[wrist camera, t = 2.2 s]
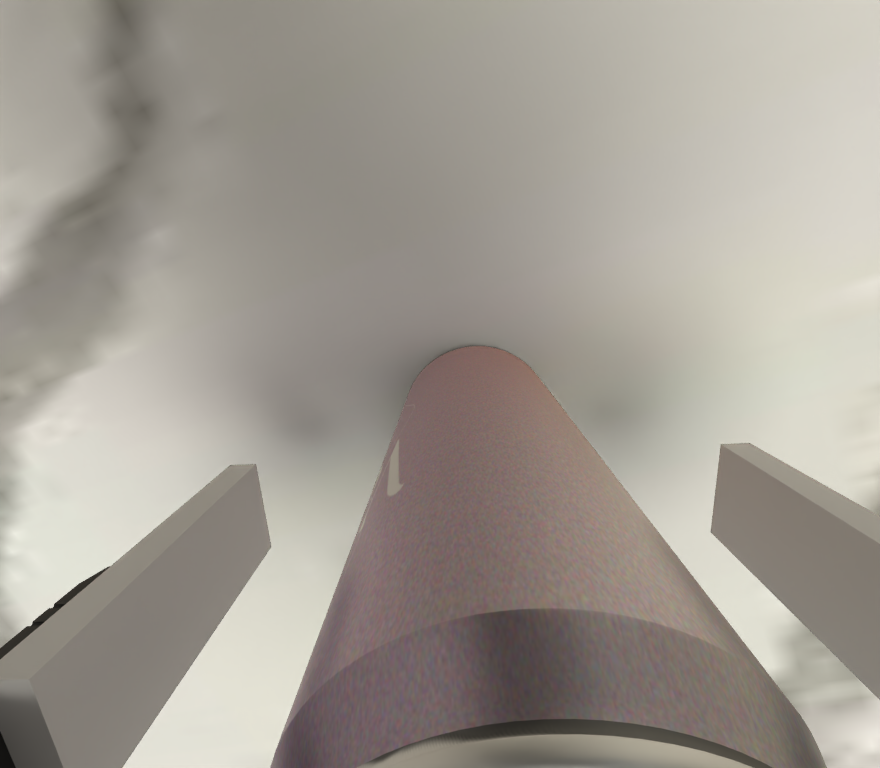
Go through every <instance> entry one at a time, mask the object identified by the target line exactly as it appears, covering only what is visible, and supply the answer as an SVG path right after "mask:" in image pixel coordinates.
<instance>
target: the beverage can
mask: <svg viewBox="0 0 880 768" xmlns="http://www.w3.org/2000/svg"><path fill="white" fill-rule="evenodd" d="M271 768H827V767H826V765H825V762H824V760H823V757H822V755H821V752H820V750H819V748H818V746H817V744H816V742H815V739H814V737H813V735H812V733H811V731H810V730H809V728H808V727H807V725H806V723H805V722H804V720H803V719H802V717H801V716H800V714H799V713H798V712H797V710H796V709H795V708H794V707H793V705H792V704H791V703H790V701H789V700H788V699H787V697H786V696H785V695H784V694H783V692H782V691H781V690H780V688H779V687H778V686H777V685H776V683H775V682H774V681H773V679H772V678H771V677H770V676H769V674H768V673H767V672H766V670H765V669H764V668H763V666H762V665H761V664H760V663H759V661H758V660H757V659H756V657H755V656H754V655H753V654H752V652H751V651H750V650H749V648H748V647H747V646H746V645H745V643H744V642H743V641H742V639H741V638H740V637H739V636H738V634H737V633H736V632H735V630H734V629H733V628H732V626H731V625H730V624H729V623H728V621H727V620H726V619H725V617H724V616H723V615H722V614H721V612H720V611H719V610H718V608H717V607H716V606H715V605H714V603H713V602H712V601H711V599H710V598H709V597H708V595H707V594H706V593H705V592H704V590H703V589H702V588H701V586H700V585H699V584H698V583H697V581H696V580H695V579H694V577H693V576H692V575H691V574H690V572H689V571H688V570H687V568H686V567H685V566H684V564H683V563H682V562H681V561H680V559H679V558H678V557H677V555H676V554H675V553H674V552H673V550H672V549H671V548H670V546H669V545H668V544H667V543H666V541H665V540H664V539H663V537H662V536H661V535H660V533H659V532H658V531H657V530H656V528H655V527H654V526H653V524H652V523H651V522H650V521H649V519H648V518H647V517H646V515H645V514H644V513H643V512H642V510H641V509H640V508H639V506H638V505H637V504H636V503H635V501H634V500H633V499H632V497H631V496H630V495H629V493H628V492H627V491H626V490H625V488H624V487H623V486H622V484H621V483H620V482H619V481H618V479H617V478H616V477H615V475H614V474H613V473H612V472H611V470H610V469H609V468H608V466H607V465H606V464H605V462H604V461H603V460H602V459H601V457H600V456H599V455H598V453H597V452H596V451H595V450H594V448H593V447H592V446H591V444H590V443H589V442H588V441H587V439H586V438H585V437H584V435H583V434H582V433H581V431H580V430H579V429H578V428H577V426H576V425H575V424H574V422H573V421H572V420H571V419H570V417H569V416H568V415H567V413H566V412H565V411H564V410H563V408H562V407H561V406H560V404H559V403H558V402H557V400H556V399H555V398H554V397H553V395H552V394H551V393H550V391H549V390H548V389H547V388H546V386H545V385H544V384H543V382H542V381H541V380H540V379H539V377H538V376H537V375H536V373H535V372H534V371H533V370H532V369H531V368H530V367H529V366H528V365H527V364H526V363H525V362H523V361H522V360H521V359H519V358H518V357H516V356H514V355H513V354H511V353H508V352H506V351H503V350H500V349H497V348H492V347H485V346H471V347H464V348H459V349H456V350H453V351H450V352H447V353H445V354H443V355H441V356H440V357H438V358H436V359H435V360H433V361H432V362H431V363H430V364H428V365H427V366H426V367H425V368H424V369H423V370H422V371H421V373H420V374H419V375H418V376H417V378H416V379H415V381H414V383H413V385H412V386H411V389H410V391H409V394H408V396H407V399H406V402H405V404H404V407H403V410H402V412H401V415H400V418H399V420H398V423H397V426H396V429H395V431H394V434H393V437H392V439H391V442H390V445H389V447H388V450H387V453H386V455H385V458H384V461H383V464H382V466H381V469H380V472H379V474H378V477H377V480H376V482H375V485H374V488H373V490H372V493H371V496H370V499H369V501H368V504H367V507H366V509H365V512H364V515H363V517H362V520H361V523H360V525H359V528H358V531H357V534H356V536H355V539H354V542H353V544H352V547H351V550H350V552H349V555H348V558H347V560H346V563H345V566H344V569H343V571H342V574H341V577H340V579H339V582H338V585H337V587H336V590H335V593H334V595H333V598H332V601H331V604H330V606H329V609H328V612H327V614H326V617H325V620H324V622H323V625H322V628H321V630H320V633H319V636H318V639H317V641H316V644H315V647H314V649H313V652H312V655H311V657H310V660H309V663H308V665H307V668H306V671H305V674H304V676H303V679H302V682H301V684H300V687H299V690H298V692H297V695H296V698H295V700H294V703H293V706H292V709H291V711H290V714H289V717H288V719H287V722H286V725H285V727H284V730H283V733H282V735H281V738H280V741H279V744H278V746H277V749H276V752H275V755H274V758H273V761H272V764H271Z"/></svg>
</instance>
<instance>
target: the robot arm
mask: <svg viewBox="0 0 880 768" xmlns="http://www.w3.org/2000/svg"><path fill="white" fill-rule="evenodd" d="M711 533H712V534H713V535H714V536H715V537H716V538H717V539H718V540H719V541H720V542H721V543H722V544H723V545H724V546H725V547H726V548H727V549H728V550H729V551H730V552H731V553H732V554H733V555H734V556H735V557H736V558H737V559H738V560H739V561H740V562H741V563H742V564H743V565H744V566H745V567H746V568H747V569H748V570H749V571H750V572H751V573H752V574H753V575H754V576H755V577H756V578H758V579H759V580H760V581H761V582H762V583H763V584H764V585H765V586H766V587H767V588H768V589H769V590H770V591H771V592H772V593H773V594H774V595H775V596H776V597H777V598H778V599H779V600H780V601H781V602H782V603H783V604H784V605H785V606H786V607H787V608H788V609H789V610H790V611H791V612H792V613H793V614H794V615H795V616H796V617H797V618H798V619H799V620H800V621H801V622H802V623H803V624H804V625H805V626H806V627H807V628H808V629H809V630H810V631H811V632H812V633H813V634H814V635H815V636H816V637H817V638H818V639H819V640H820V641H821V642H822V643H823V644H824V645H825V646H826V647H827V648H828V649H829V650H830V651H831V652H832V653H833V654H834V655H835V656H836V657H837V658H838V659H839V660H840V661H841V662H842V663H843V664H844V665H845V666H846V667H847V668H848V669H849V670H850V671H851V672H852V673H853V674H854V675H855V676H856V677H857V678H858V679H859V680H860V681H861V682H862V683H863V684H864V685H865V686H866V687H867V688H868V689H869V690H870V691H871V692H872V693H873V694H875V695H876V696H877V697H878V698H879V699H880V516H878V515H877V514H875V513H873V512H871V511H870V510H868V509H866V508H864V507H862V506H861V505H859V504H857V503H855V502H854V501H852V500H850V499H848V498H846V497H845V496H843V495H841V494H839V493H837V492H836V491H834V490H832V489H830V488H829V487H827V486H825V485H823V484H821V483H820V482H818V481H816V480H814V479H813V478H811V477H809V476H807V475H805V474H804V473H802V472H800V471H798V470H797V469H795V468H793V467H791V466H789V465H788V464H786V463H784V462H782V461H780V460H779V459H777V458H775V457H773V456H772V455H770V454H768V453H766V452H764V451H763V450H761V449H759V448H757V447H756V446H754V445H752V444H750V443H741V444H721V448H720V456H719V465H718V473H717V482H716V490H715V499H714V508H713V516H712V525H711ZM270 548H271V542H270V537H269V532H268V526H267V521H266V516H265V510H264V505H263V499H262V494H261V489H260V483H259V478H258V473H257V467H256V464H248V465H230V466H229V467H228V468H226V469H225V470H224V471H223V472H222V473H220V474H219V475H218V476H217V477H216V478H215V479H213V480H212V481H211V482H210V483H209V484H207V485H206V486H205V487H204V488H203V489H202V490H200V491H199V492H198V493H197V494H196V495H194V496H193V497H192V498H191V499H190V500H189V501H187V502H186V503H185V504H184V505H183V506H181V507H180V508H179V509H178V510H177V511H175V512H174V513H173V514H172V515H171V516H170V517H168V518H167V519H166V520H165V521H164V522H162V523H161V524H160V525H159V526H158V527H157V528H155V529H154V530H153V531H152V532H151V533H149V534H148V535H147V536H146V537H145V538H144V539H142V540H141V541H140V542H139V543H138V544H136V545H135V546H134V547H133V548H132V549H131V550H129V551H128V552H127V553H126V554H125V555H123V556H122V557H121V558H120V559H119V560H117V561H116V562H115V563H114V564H113V565H112V566H110V567H107V568H105V569H104V570H102V571H100V572H99V573H97V574H95V575H93V576H92V577H90V578H88V579H86V580H85V581H83V582H81V583H80V584H78V585H77V586H76V587H74V588H73V589H72V590H71V591H70V592H68V593H67V594H66V595H65V596H63V597H62V598H61V599H60V600H59V601H57V602H56V603H55V604H54V607H53V608H49V609H48V610H46V611H45V612H44V613H43V614H42V615H40V616H39V617H38V618H37V619H35V620H34V621H33V624H32V626H27V627H26V628H24V629H23V630H22V631H21V632H20V633H18V634H17V635H16V636H15V637H13V638H12V639H11V640H10V641H9V642H7V643H6V644H5V645H4V646H3V647H1V648H0V768H122V767H123V766H124V764H125V763H126V761H127V760H128V758H129V757H130V755H131V754H132V752H133V751H134V749H135V748H136V747H137V745H138V744H139V742H140V741H141V739H142V738H143V736H144V735H145V733H146V732H147V730H148V729H149V727H150V726H151V724H152V723H153V721H154V720H155V718H156V717H157V715H158V714H159V712H160V711H161V709H162V708H163V706H164V705H165V704H166V702H167V701H168V699H169V698H170V696H171V695H172V693H173V692H174V690H175V689H176V687H177V686H178V684H179V683H180V681H181V680H182V678H183V677H184V675H185V674H186V672H187V671H188V669H189V668H190V666H191V665H192V664H193V662H194V661H195V659H196V658H197V656H198V655H199V653H200V652H201V650H202V649H203V647H204V646H205V644H206V643H207V641H208V640H209V638H210V637H211V635H212V634H213V632H214V631H215V629H216V628H217V626H218V625H219V623H220V622H221V621H222V619H223V618H224V616H225V615H226V613H227V612H228V610H229V609H230V607H231V606H232V604H233V603H234V601H235V600H236V598H237V597H238V595H239V594H240V592H241V591H242V589H243V588H244V586H245V585H246V583H247V582H248V580H249V579H250V578H251V576H252V575H253V573H254V572H255V570H256V569H257V567H258V566H259V564H260V563H261V561H262V560H263V558H264V557H265V555H266V554H267V552H268V551H269V549H270Z"/></svg>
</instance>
